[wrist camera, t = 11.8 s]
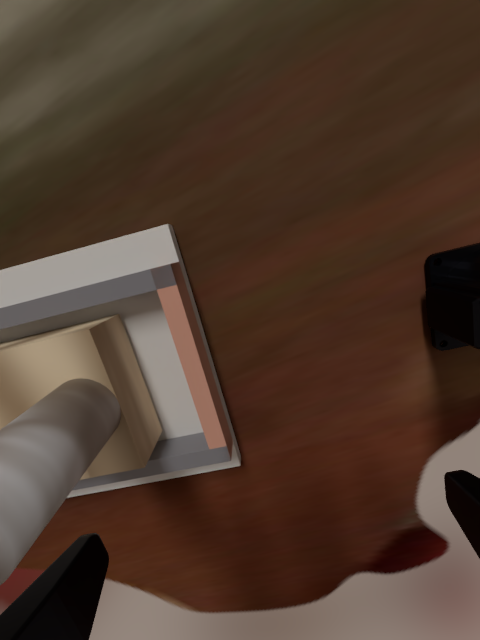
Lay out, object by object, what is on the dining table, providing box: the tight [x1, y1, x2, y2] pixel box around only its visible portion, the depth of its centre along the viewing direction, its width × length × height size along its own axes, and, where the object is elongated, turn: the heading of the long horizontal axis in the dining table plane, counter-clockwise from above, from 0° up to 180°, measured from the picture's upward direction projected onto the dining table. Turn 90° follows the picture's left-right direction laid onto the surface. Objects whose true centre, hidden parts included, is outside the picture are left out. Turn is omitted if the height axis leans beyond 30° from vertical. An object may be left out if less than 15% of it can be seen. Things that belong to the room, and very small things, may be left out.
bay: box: [0, 224, 241, 498], centre depth 20 cm, size 27×18×3 cm, turn 104°
